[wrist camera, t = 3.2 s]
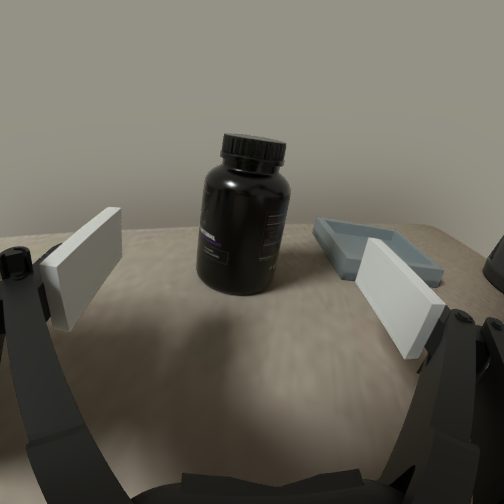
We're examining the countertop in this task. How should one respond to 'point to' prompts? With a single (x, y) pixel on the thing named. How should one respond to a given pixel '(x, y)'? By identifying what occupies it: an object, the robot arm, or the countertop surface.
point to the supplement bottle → (243, 216)
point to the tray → (354, 243)
